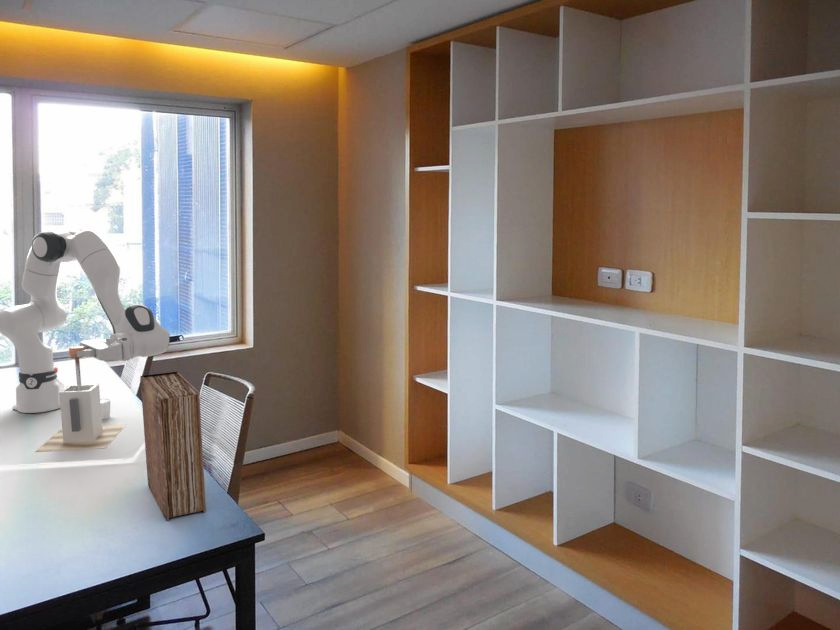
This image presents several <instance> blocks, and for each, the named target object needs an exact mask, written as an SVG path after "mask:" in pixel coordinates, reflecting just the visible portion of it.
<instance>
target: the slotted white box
mask: <svg viewBox="0 0 840 630" xmlns="http://www.w3.org/2000/svg"><path fill="white" fill-rule="evenodd" d="M81 387H82V391H78V390H77V384H69V385H68V386H65V389H63V390H62V391H60V392H59V398H60V408H59V409H60V419H61V429H62V433H63V443H67V442H87V441H95V440H96V439H97V438H98V437H99V435H100V434H101V433H102V432H103V430H102V425H103V419H102V417H101V404H100V399H101V395H100V391H101V390H100V383H93V384H91V383H89V384H87V383H86V384H81Z"/></svg>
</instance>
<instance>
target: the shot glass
mask: <svg viewBox="0 0 840 630" xmlns="http://www.w3.org/2000/svg"><path fill="white" fill-rule="evenodd" d="M100 404H101V417H102V420H105V419H110V418H111V399H108V398H100Z"/></svg>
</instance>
